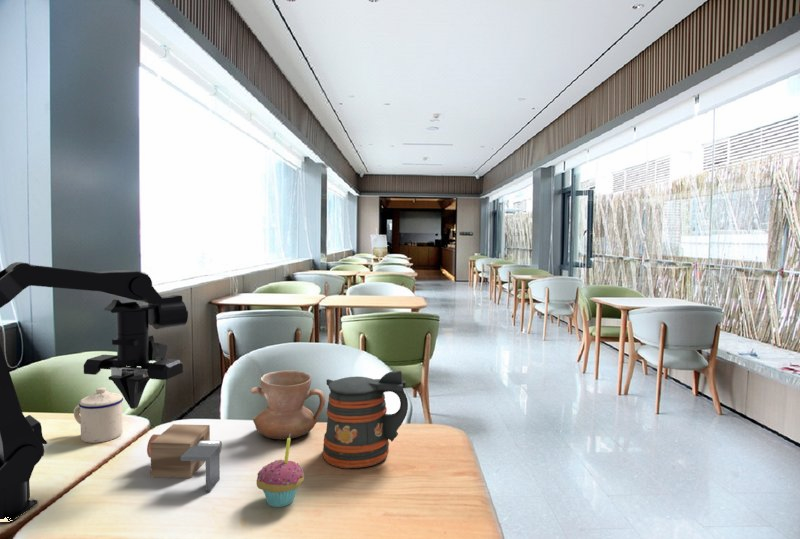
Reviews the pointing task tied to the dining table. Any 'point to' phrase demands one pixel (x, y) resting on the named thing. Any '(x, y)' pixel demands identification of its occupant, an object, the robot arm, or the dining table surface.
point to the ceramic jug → (286, 405)
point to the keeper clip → (212, 462)
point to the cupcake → (280, 480)
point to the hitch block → (176, 450)
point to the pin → (199, 443)
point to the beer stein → (362, 420)
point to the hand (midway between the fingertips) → (134, 408)
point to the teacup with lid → (100, 416)
